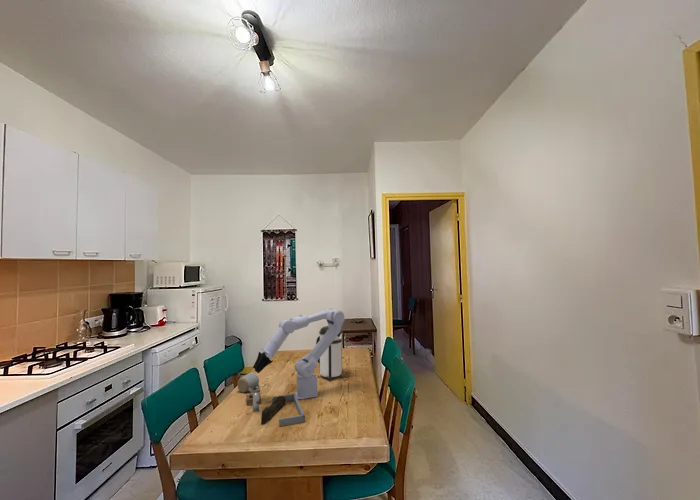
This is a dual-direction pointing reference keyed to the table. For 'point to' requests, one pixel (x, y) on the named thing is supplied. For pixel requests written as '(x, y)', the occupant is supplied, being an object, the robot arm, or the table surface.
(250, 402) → the hollow square frame
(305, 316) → the robot arm
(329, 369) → the coffee press
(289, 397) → the u-shaped frame
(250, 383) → the ceramic mug
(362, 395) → the table surface
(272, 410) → the hand tool
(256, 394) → the rod
